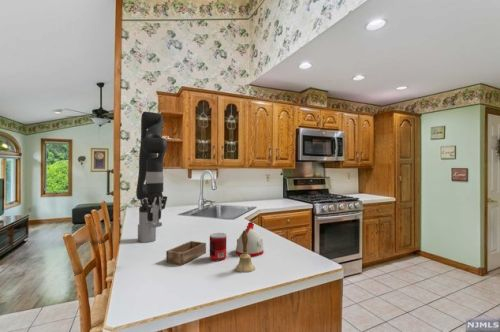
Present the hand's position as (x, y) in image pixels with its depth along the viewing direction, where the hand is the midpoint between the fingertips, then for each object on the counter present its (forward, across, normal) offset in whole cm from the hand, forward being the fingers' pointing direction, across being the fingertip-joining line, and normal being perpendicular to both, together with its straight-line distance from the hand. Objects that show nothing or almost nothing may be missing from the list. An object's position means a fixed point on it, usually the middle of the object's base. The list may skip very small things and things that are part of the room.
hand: (154, 219), depth 114 cm
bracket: (+3, 0, 0) cm, 3 cm away
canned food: (+19, -17, +23) cm, 34 cm away
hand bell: (+19, -11, +40) cm, 46 cm away
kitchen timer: (+19, -31, +33) cm, 49 cm away
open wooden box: (+19, -12, +9) cm, 24 cm away
